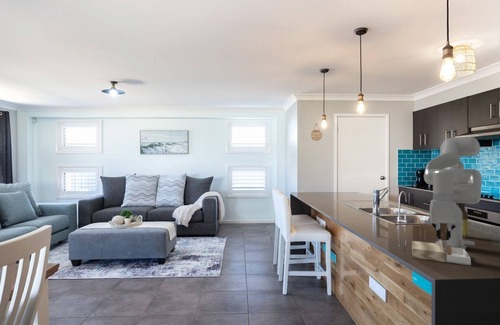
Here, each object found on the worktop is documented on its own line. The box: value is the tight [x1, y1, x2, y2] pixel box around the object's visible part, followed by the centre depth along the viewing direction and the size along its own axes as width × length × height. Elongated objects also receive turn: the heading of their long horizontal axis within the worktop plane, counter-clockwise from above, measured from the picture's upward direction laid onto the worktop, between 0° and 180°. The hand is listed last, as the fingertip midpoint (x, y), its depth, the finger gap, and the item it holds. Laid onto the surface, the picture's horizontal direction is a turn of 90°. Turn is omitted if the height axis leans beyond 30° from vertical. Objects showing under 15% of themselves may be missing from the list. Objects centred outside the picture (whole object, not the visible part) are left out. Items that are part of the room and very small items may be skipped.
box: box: [444, 248, 472, 267], centre depth 122 cm, size 8×14×3 cm, turn 151°
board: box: [411, 240, 447, 263], centre depth 127 cm, size 12×14×4 cm
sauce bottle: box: [456, 203, 470, 239], centre depth 158 cm, size 7×6×20 cm
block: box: [446, 245, 451, 255], centre depth 124 cm, size 4×4×2 cm
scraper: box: [440, 223, 447, 249], centre depth 124 cm, size 2×9×10 cm, turn 151°
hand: (443, 238), depth 124 cm, fingers closed on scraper, 2 cm apart
